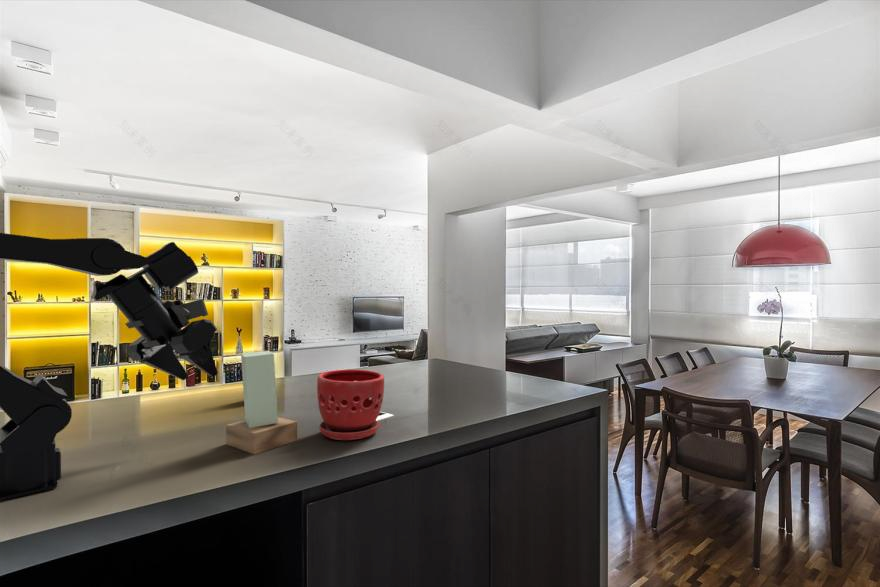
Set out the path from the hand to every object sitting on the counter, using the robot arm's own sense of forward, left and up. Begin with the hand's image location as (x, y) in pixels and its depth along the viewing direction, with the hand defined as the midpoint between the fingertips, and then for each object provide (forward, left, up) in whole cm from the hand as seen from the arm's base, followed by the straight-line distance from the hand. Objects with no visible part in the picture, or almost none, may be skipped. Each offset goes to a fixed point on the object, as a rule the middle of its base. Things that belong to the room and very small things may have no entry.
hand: (200, 376), depth 83 cm
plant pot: (+25, -11, -13) cm, 30 cm away
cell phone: (+34, +1, -14) cm, 36 cm away
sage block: (+10, -4, -9) cm, 14 cm away
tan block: (+10, -4, -13) cm, 17 cm away
